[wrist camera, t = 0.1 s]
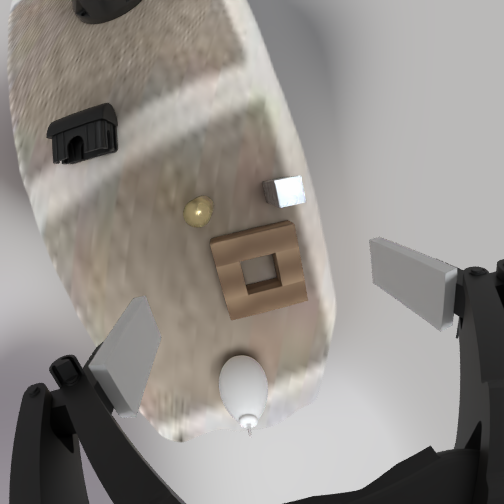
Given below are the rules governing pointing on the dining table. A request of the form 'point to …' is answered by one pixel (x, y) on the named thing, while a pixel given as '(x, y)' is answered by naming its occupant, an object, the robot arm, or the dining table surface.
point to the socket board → (269, 291)
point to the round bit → (198, 211)
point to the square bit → (284, 191)
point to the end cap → (84, 134)
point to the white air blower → (243, 390)
